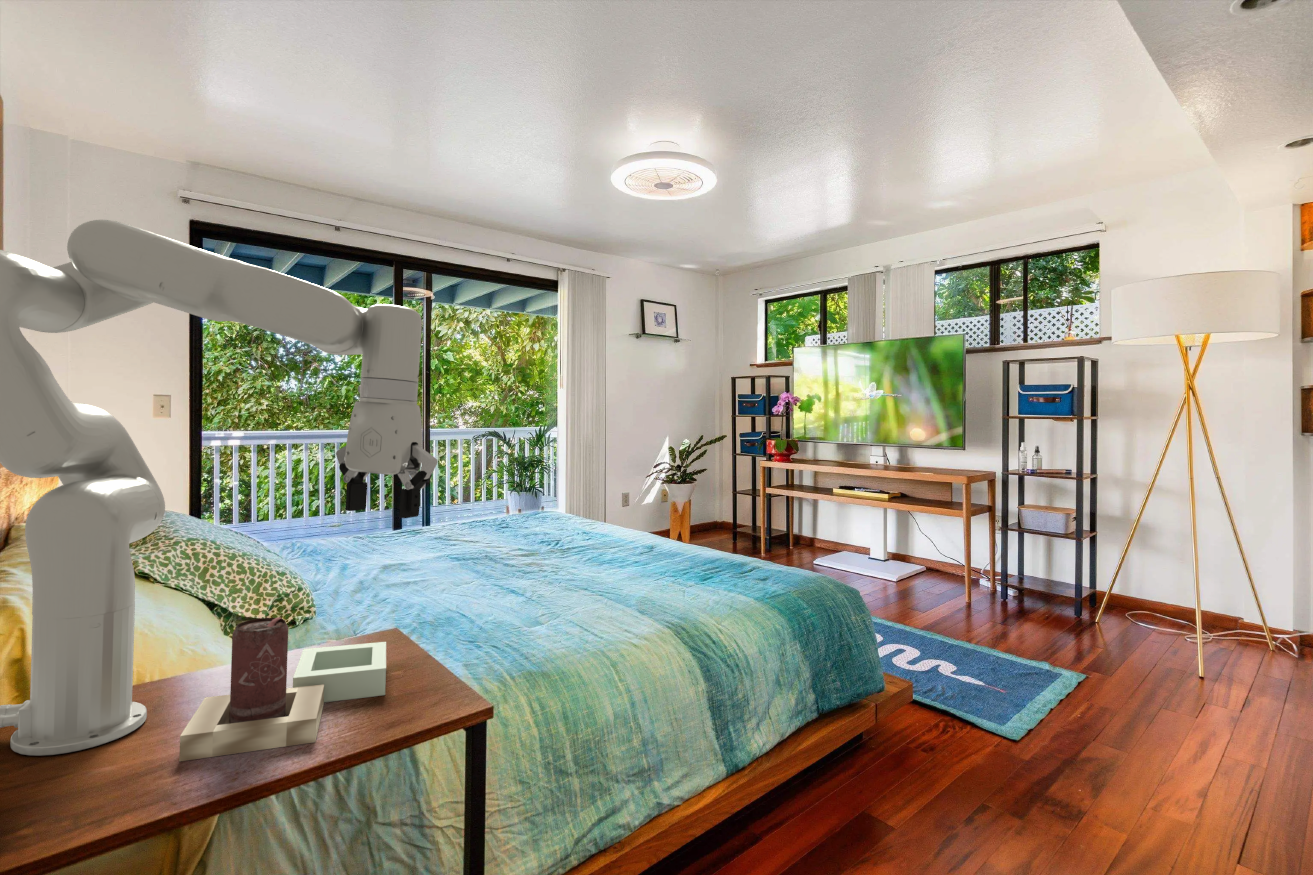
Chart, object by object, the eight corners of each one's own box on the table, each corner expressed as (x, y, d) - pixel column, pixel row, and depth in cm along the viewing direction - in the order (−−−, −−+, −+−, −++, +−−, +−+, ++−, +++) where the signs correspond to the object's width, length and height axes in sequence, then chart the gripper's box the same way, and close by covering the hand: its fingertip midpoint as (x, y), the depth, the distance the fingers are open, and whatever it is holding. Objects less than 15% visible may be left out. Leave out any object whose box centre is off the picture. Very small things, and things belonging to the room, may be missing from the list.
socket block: (179, 761, 73) (180, 735, 73) (204, 719, 83) (205, 697, 83) (315, 742, 78) (316, 718, 78) (323, 705, 88) (324, 684, 88)
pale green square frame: (292, 706, 88) (293, 677, 88) (302, 674, 99) (303, 648, 99) (385, 694, 93) (386, 668, 93) (385, 665, 104) (386, 641, 104)
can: (296, 721, 84) (300, 617, 83) (262, 744, 77) (266, 632, 77) (254, 717, 84) (258, 613, 84) (216, 740, 78) (220, 628, 78)
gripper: (321, 389, 89) (314, 509, 89) (419, 393, 82) (411, 523, 83) (363, 393, 96) (356, 505, 96) (456, 398, 90) (449, 517, 90)
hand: (381, 513), depth 89 cm, fingers open, 9 cm apart
